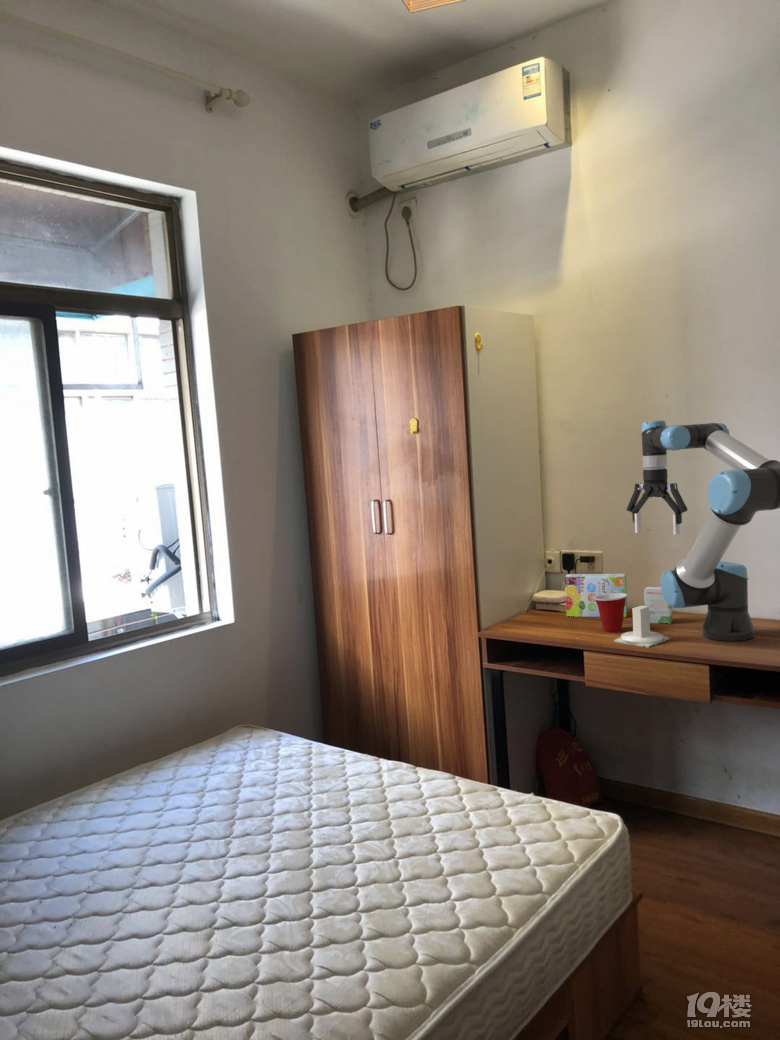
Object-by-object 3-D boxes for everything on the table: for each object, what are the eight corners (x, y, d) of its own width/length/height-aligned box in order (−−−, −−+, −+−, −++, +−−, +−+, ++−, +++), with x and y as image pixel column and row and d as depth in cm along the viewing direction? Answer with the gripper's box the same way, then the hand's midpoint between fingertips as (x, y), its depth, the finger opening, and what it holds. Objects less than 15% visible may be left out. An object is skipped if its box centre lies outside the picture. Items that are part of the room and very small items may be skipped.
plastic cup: (600, 625, 278) (598, 591, 277) (632, 627, 272) (631, 592, 271) (590, 633, 269) (589, 597, 268) (623, 635, 263) (622, 598, 262)
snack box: (628, 614, 293) (626, 573, 291) (626, 618, 287) (625, 575, 286) (568, 613, 300) (566, 573, 299) (565, 617, 295) (564, 575, 294)
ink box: (644, 623, 278) (643, 589, 277) (647, 619, 283) (646, 586, 282) (671, 624, 274) (669, 589, 273) (673, 620, 279) (672, 586, 278)
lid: (670, 637, 255) (669, 606, 254) (648, 645, 246) (647, 613, 245) (635, 632, 264) (634, 601, 263) (613, 640, 256) (611, 608, 255)
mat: (669, 639, 255) (669, 637, 255) (648, 647, 247) (648, 645, 247) (635, 634, 264) (635, 632, 264) (614, 641, 256) (614, 639, 256)
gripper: (697, 466, 258) (699, 533, 260) (626, 468, 276) (629, 530, 278) (685, 468, 253) (687, 536, 255) (614, 469, 271) (617, 533, 273)
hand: (657, 533), depth 266 cm, fingers open, 13 cm apart
